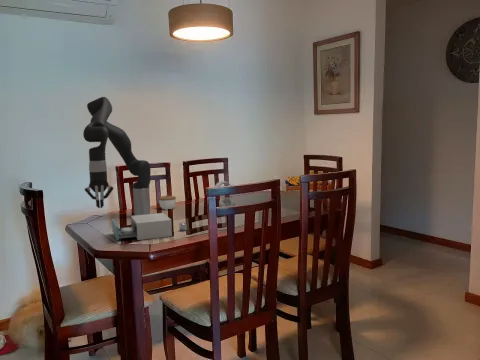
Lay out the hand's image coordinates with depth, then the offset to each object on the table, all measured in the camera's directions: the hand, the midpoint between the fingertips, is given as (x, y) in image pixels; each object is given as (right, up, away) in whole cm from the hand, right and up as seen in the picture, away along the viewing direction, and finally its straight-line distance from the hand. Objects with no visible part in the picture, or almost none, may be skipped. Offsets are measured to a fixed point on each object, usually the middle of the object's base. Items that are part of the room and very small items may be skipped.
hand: (100, 207), depth 187 cm
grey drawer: (+13, -13, +7) cm, 19 cm away
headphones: (+55, -8, +54) cm, 77 cm away
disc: (+11, -12, +6) cm, 18 cm away
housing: (+21, -14, +11) cm, 27 cm away
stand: (+36, -13, +17) cm, 42 cm away
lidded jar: (+18, -6, +73) cm, 76 cm away
